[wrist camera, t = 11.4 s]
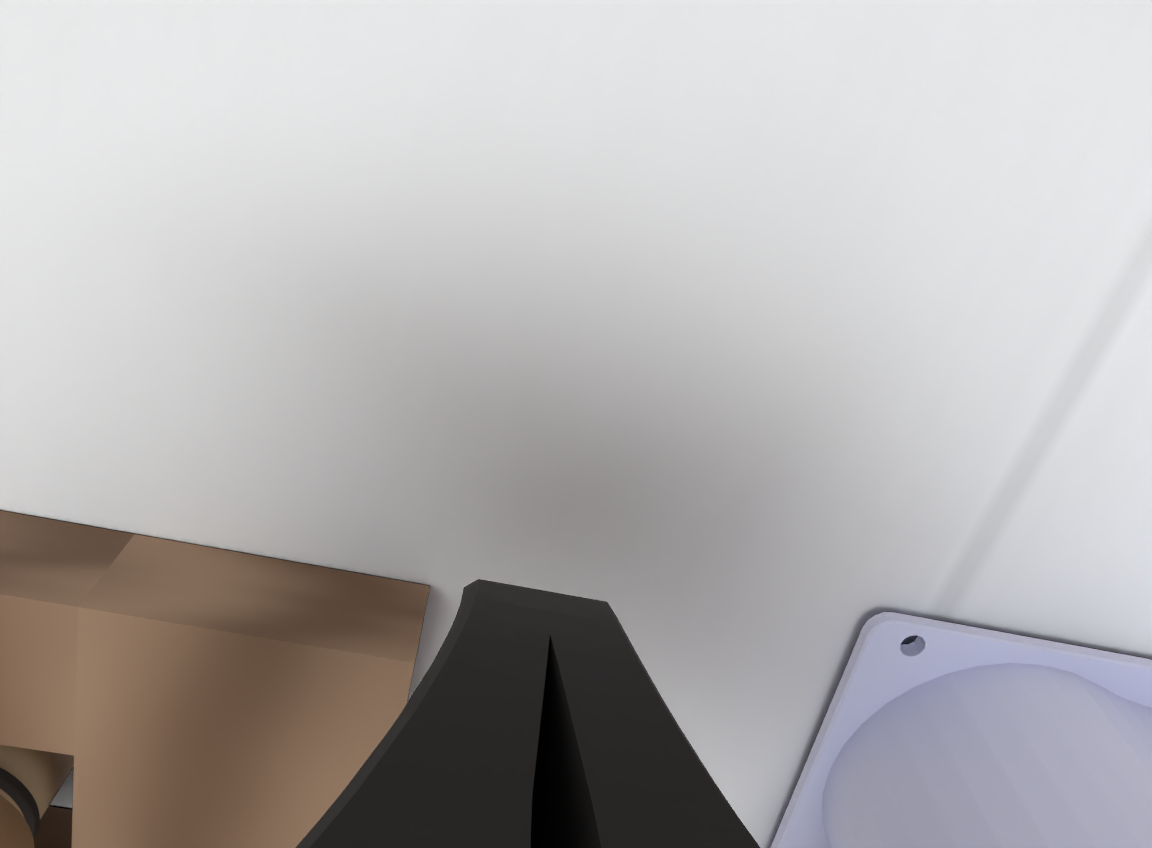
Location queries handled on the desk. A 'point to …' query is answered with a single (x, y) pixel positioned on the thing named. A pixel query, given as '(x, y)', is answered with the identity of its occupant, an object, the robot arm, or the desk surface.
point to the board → (194, 683)
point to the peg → (27, 791)
